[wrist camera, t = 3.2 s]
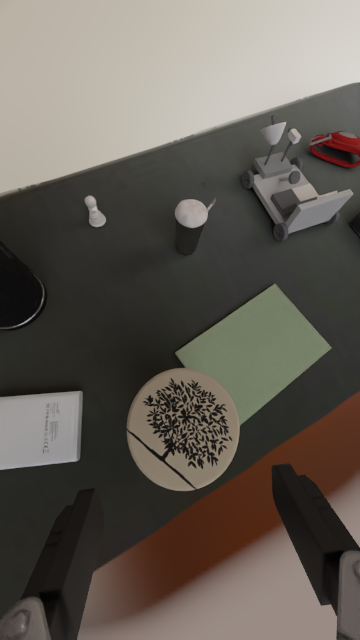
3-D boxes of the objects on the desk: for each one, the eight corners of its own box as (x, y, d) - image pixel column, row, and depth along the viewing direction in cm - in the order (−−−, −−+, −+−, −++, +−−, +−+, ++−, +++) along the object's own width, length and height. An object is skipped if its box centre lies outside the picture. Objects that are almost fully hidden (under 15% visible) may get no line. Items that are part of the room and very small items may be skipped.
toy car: (251, 115, 39) (311, 102, 41) (233, 171, 48) (283, 158, 50) (311, 201, 34) (376, 181, 36) (279, 245, 43) (332, 227, 45)
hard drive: (-16, 399, 32) (83, 391, 33) (-27, 470, 29) (80, 459, 31) (-24, 398, 31) (79, 390, 32) (-37, 474, 28) (76, 462, 29)
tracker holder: (340, 124, 53) (384, 141, 49) (328, 148, 56) (368, 166, 52) (308, 128, 48) (355, 147, 43) (297, 154, 51) (339, 174, 47)
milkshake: (206, 256, 41) (220, 213, 32) (175, 261, 41) (179, 218, 31) (200, 234, 43) (211, 186, 33) (170, 238, 42) (172, 190, 33)
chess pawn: (99, 230, 41) (91, 208, 37) (85, 222, 42) (76, 199, 37) (109, 219, 42) (103, 195, 38) (95, 211, 43) (87, 187, 38)
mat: (230, 432, 33) (231, 432, 32) (174, 353, 36) (174, 352, 35) (329, 348, 38) (331, 347, 37) (273, 284, 41) (274, 283, 40)
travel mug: (173, 371, 35) (184, 341, 18) (213, 413, 33) (267, 425, 16) (129, 413, 33) (96, 424, 16) (171, 460, 31) (183, 530, 14)
